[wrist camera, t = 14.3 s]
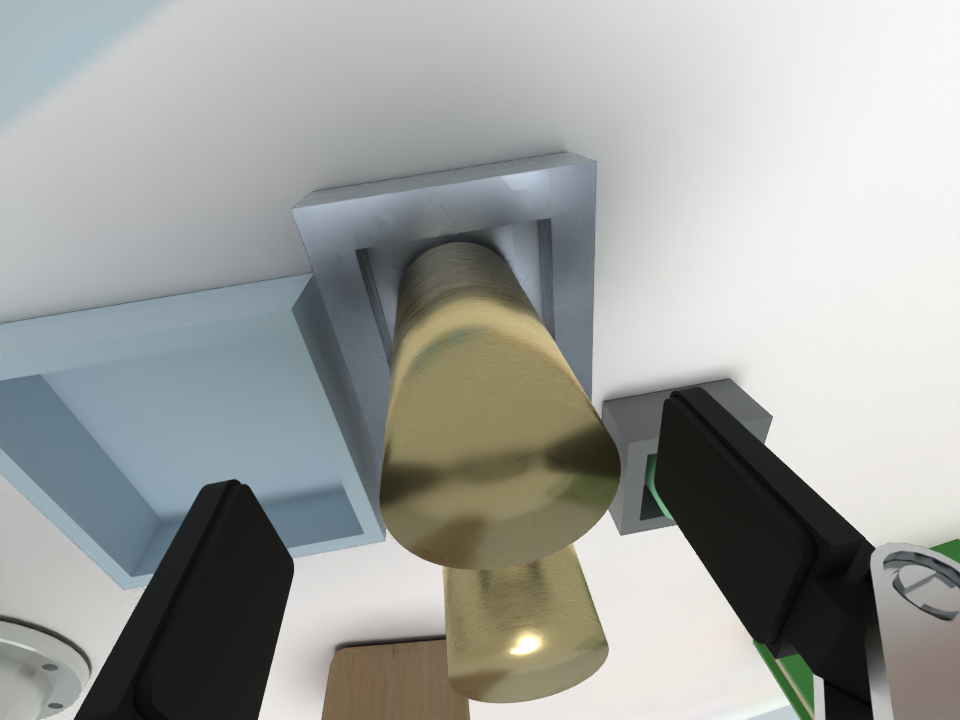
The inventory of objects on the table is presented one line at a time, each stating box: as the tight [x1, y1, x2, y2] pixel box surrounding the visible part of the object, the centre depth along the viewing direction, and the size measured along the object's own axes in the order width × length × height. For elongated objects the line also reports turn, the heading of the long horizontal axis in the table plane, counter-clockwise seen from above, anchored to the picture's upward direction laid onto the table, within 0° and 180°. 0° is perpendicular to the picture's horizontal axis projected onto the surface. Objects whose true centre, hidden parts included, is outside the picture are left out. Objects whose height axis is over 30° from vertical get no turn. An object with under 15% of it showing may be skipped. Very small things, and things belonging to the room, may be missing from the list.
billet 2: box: [443, 543, 609, 703], centre depth 17 cm, size 5×5×10 cm
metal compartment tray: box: [291, 152, 596, 464], centre depth 19 cm, size 18×10×3 cm, turn 7°
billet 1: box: [379, 242, 621, 570], centre depth 13 cm, size 5×5×10 cm
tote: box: [0, 273, 386, 590], centre depth 18 cm, size 13×13×4 cm
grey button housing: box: [602, 379, 773, 536], centre depth 23 cm, size 7×7×3 cm
